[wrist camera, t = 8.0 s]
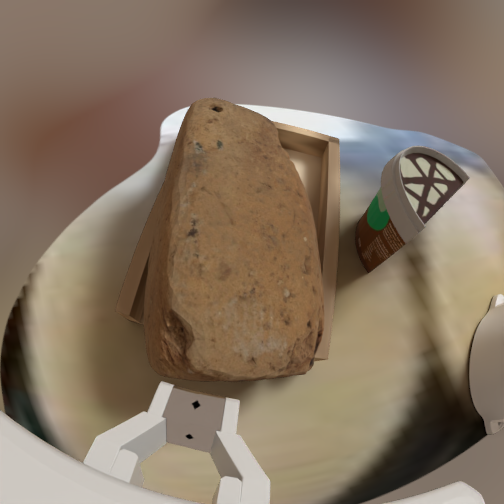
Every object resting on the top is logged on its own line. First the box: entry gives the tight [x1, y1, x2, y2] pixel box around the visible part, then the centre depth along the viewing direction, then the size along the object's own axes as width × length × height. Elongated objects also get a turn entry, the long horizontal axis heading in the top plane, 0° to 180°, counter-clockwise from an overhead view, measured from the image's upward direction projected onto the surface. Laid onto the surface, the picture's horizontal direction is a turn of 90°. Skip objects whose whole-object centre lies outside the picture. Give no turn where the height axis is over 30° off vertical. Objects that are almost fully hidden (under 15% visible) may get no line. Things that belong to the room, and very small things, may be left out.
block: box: [144, 98, 324, 382], centre depth 19 cm, size 11×8×20 cm
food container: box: [355, 146, 470, 273], centre depth 23 cm, size 12×6×10 cm, turn 125°
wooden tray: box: [115, 121, 340, 361], centre depth 24 cm, size 15×22×4 cm
